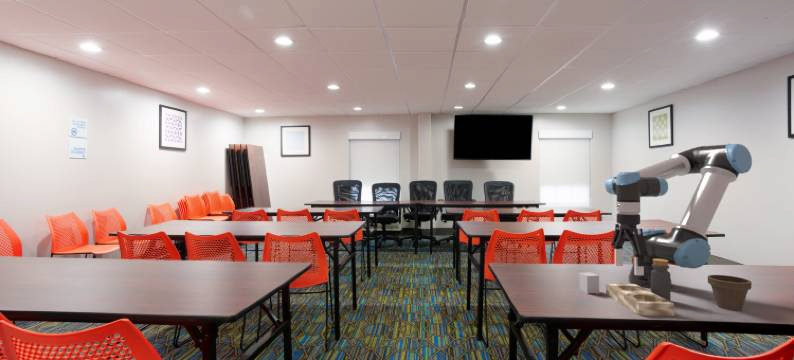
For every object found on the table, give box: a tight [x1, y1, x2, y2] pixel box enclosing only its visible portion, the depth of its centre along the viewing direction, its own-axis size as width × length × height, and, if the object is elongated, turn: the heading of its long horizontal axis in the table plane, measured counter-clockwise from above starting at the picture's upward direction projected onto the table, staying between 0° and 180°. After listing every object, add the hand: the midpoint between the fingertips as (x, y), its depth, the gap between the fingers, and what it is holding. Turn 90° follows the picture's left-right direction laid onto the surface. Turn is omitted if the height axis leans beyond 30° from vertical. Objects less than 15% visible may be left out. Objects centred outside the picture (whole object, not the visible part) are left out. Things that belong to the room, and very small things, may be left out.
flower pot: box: [707, 274, 753, 311], centre depth 129 cm, size 12×11×10 cm
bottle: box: [650, 259, 671, 302], centre depth 136 cm, size 6×6×15 cm
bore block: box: [605, 283, 675, 317], centre depth 133 cm, size 11×22×4 cm, turn 176°
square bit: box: [579, 271, 600, 294], centre depth 147 cm, size 5×5×7 cm
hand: (628, 270), depth 138 cm, fingers open, 13 cm apart
